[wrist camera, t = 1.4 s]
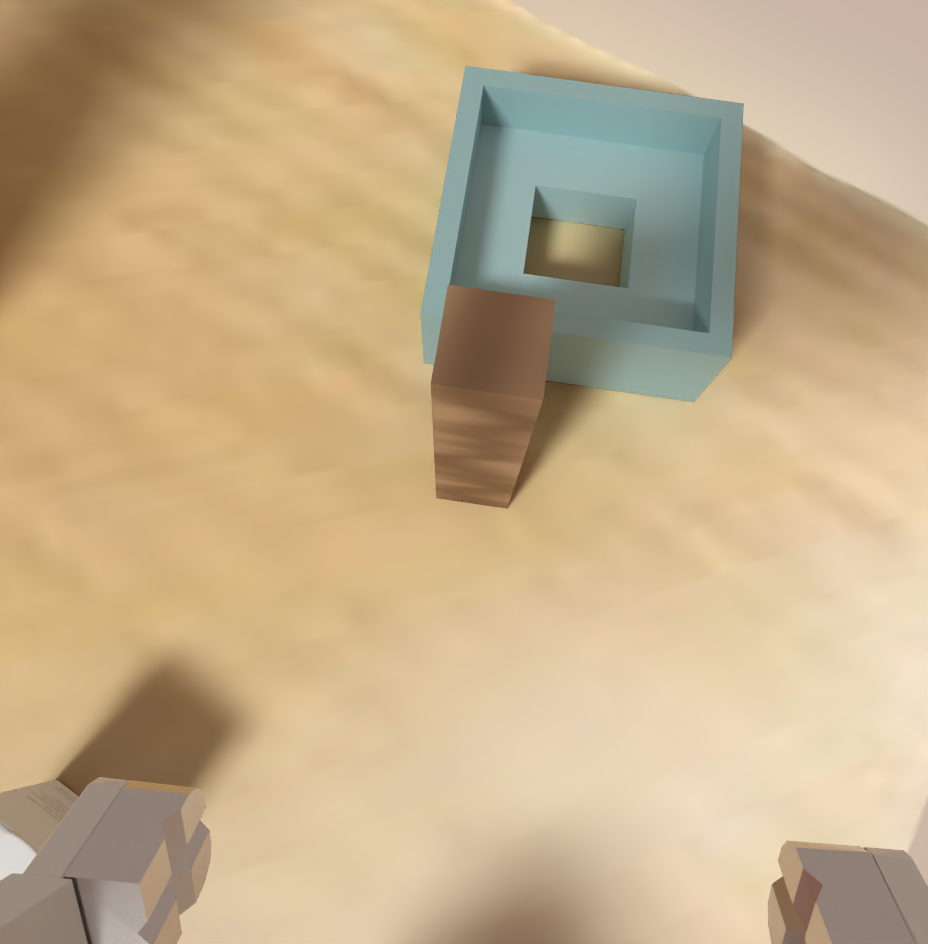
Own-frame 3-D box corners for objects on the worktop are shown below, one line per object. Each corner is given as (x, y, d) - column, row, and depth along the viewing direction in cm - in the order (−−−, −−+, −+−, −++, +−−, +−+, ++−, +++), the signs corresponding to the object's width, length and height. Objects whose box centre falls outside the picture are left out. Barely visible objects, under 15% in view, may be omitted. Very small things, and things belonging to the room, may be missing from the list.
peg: (436, 497, 42) (430, 384, 26) (447, 431, 43) (447, 284, 27) (507, 508, 41) (543, 400, 26) (516, 441, 43) (555, 299, 27)
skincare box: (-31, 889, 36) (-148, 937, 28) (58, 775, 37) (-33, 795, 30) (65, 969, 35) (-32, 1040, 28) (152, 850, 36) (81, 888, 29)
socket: (423, 362, 44) (420, 313, 38) (463, 140, 48) (465, 65, 43) (693, 401, 44) (731, 357, 38) (707, 174, 48) (743, 103, 42)
